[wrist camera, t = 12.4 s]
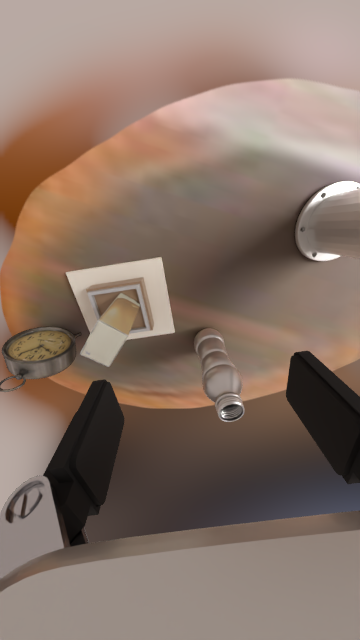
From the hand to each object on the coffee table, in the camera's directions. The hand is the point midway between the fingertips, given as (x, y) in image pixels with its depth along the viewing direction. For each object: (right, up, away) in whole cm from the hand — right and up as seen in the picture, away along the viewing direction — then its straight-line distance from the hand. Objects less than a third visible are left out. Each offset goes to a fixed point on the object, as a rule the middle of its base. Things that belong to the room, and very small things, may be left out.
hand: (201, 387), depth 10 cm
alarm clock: (-27, 0, +33) cm, 43 cm away
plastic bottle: (+5, 0, +34) cm, 35 cm away
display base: (-12, +7, +30) cm, 33 cm away
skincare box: (-12, +5, +26) cm, 29 cm away
